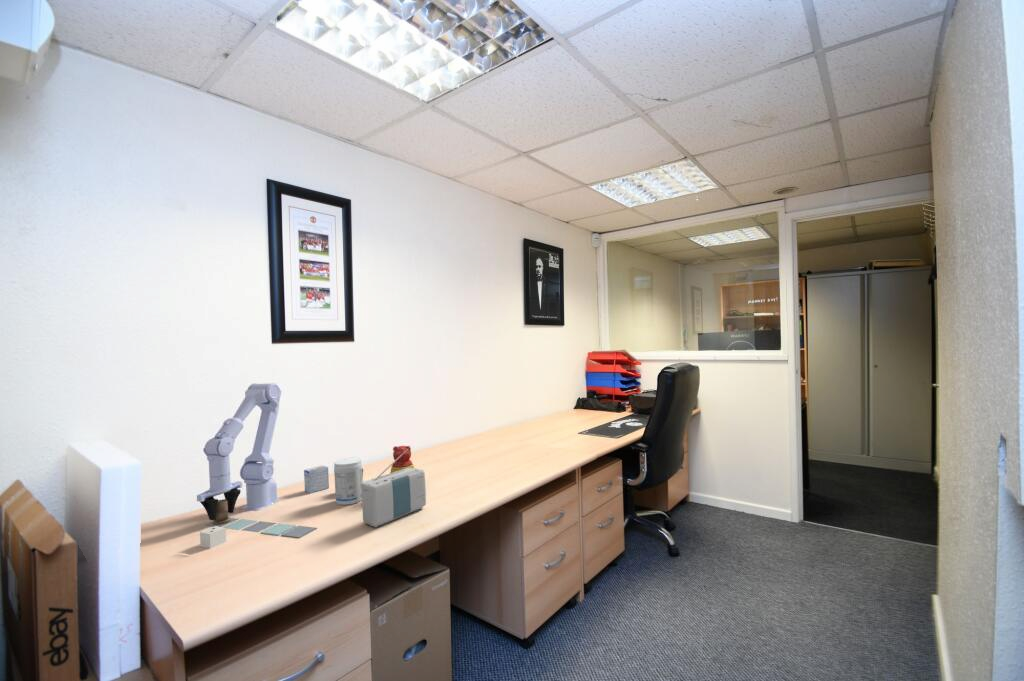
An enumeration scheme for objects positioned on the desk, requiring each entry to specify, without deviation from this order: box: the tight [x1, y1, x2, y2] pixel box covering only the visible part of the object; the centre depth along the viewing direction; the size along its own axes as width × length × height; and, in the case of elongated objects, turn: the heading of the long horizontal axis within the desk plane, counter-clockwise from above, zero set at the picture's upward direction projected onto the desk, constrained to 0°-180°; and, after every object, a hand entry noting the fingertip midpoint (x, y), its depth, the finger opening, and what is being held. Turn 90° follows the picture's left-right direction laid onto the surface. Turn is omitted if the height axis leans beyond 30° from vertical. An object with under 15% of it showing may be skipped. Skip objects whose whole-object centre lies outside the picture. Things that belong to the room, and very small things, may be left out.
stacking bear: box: [389, 445, 415, 474], centre depth 173 cm, size 11×10×18 cm
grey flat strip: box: [204, 517, 318, 539], centre depth 145 cm, size 7×39×1 cm, turn 71°
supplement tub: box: [333, 456, 364, 506], centre depth 167 cm, size 10×10×15 cm
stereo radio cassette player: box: [361, 449, 427, 528], centre depth 150 cm, size 21×8×20 cm, turn 143°
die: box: [199, 526, 227, 550], centre depth 133 cm, size 4×4×4 cm
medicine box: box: [303, 464, 330, 494], centre depth 181 cm, size 8×4×9 cm, turn 141°
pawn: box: [212, 498, 231, 525], centre depth 151 cm, size 5×5×7 cm
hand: (221, 516), depth 151 cm, fingers open, 6 cm apart
